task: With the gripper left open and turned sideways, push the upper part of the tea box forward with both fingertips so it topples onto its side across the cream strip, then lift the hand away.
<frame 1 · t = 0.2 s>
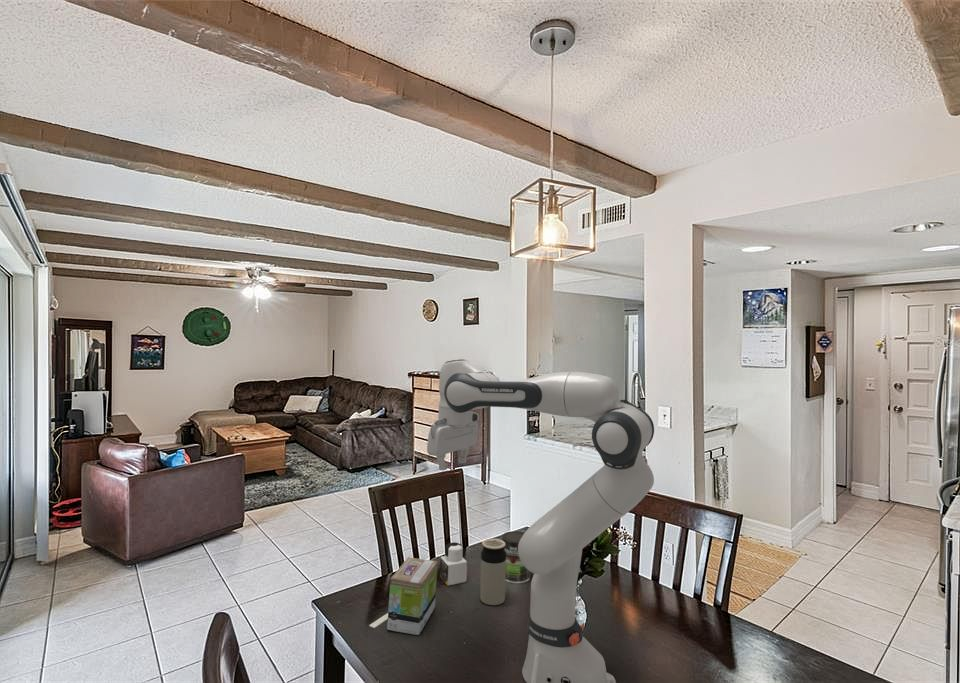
hand: (452, 466, 137), 47 cm above the table, tool pointing down, fingers open, 8 cm apart
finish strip: (391, 613, 146), on the table
tea box: (412, 619, 143), on the table, touching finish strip
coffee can: (515, 577, 171), on the table
medicine bottle: (453, 580, 168), on the table
travel mug: (492, 600, 155), on the table
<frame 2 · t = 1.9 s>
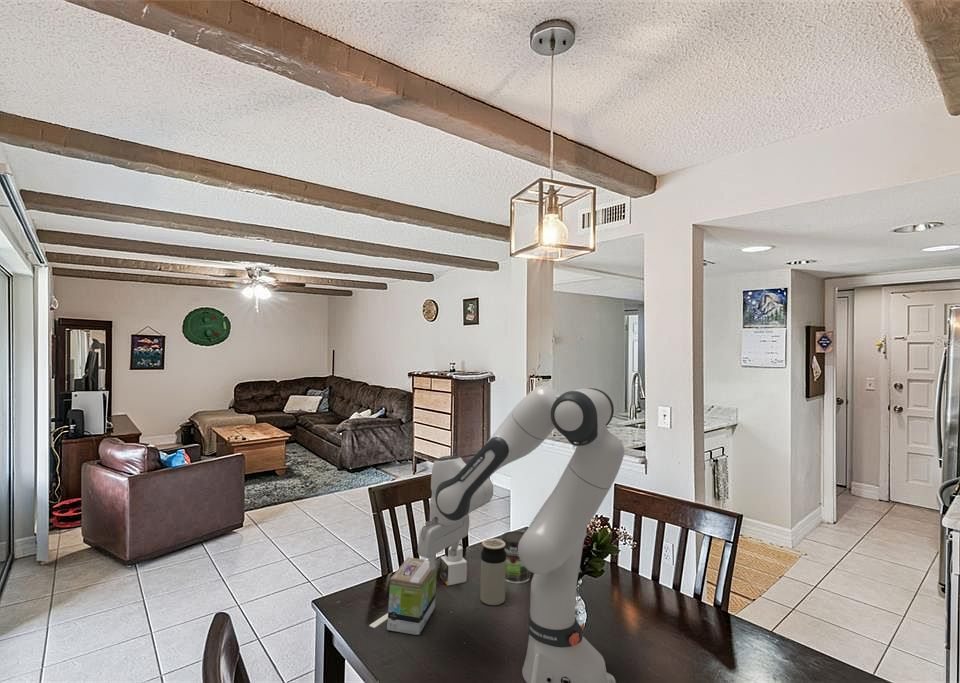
hand: (443, 561, 138), 19 cm above the table, tool pointing down, fingers open, 8 cm apart
nothing on the table moved.
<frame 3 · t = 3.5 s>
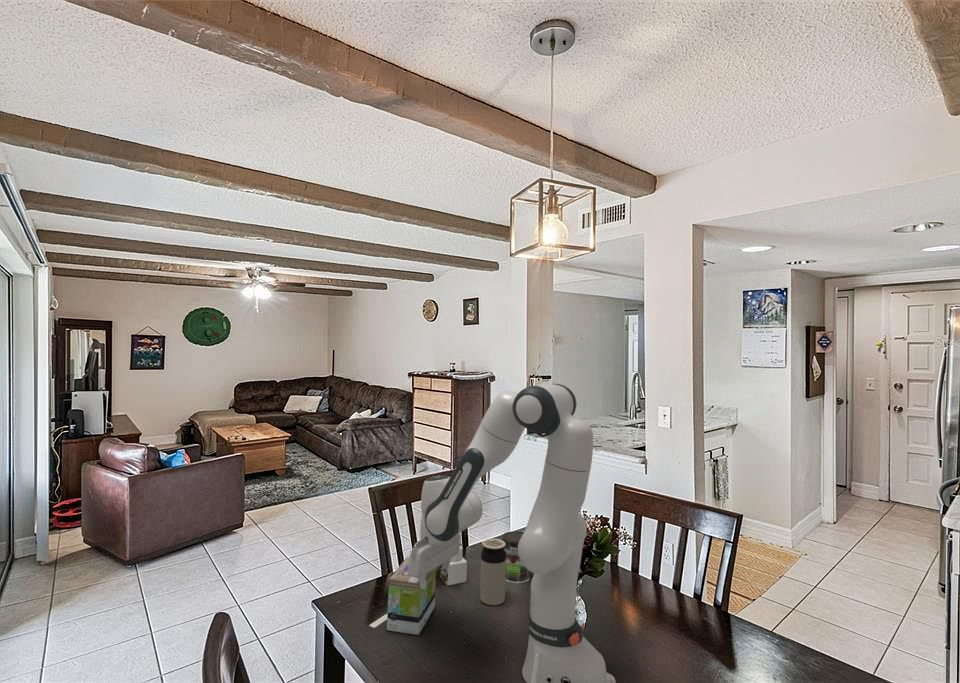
hand: (434, 580, 139), 13 cm above the table, tool pointing down, fingers open, 8 cm apart
tea box: (412, 619, 143), on the table, touching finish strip, gripper
everything else where it was.
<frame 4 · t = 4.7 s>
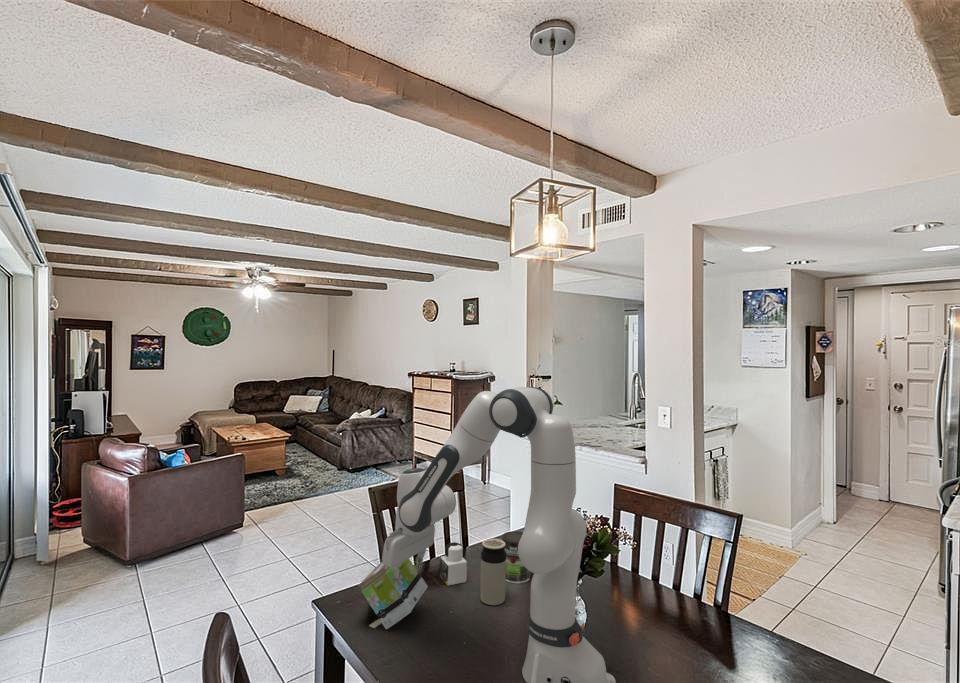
hand: (408, 570, 143), 14 cm above the table, tool pointing down, fingers open, 8 cm apart
tea box: (409, 608, 143), point 3 cm above the table, touching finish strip, gripper
everything else where it was.
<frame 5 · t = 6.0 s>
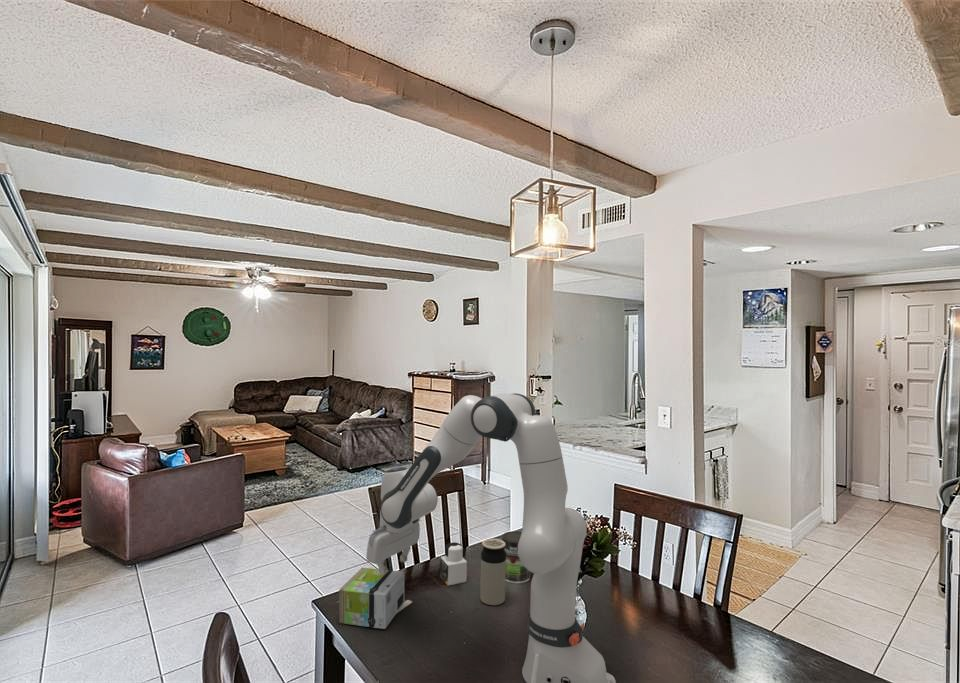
hand: (393, 567, 147), 13 cm above the table, tool pointing down, fingers open, 8 cm apart
tea box: (396, 598, 144), point 5 cm above the table, touching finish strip
everything else where it was.
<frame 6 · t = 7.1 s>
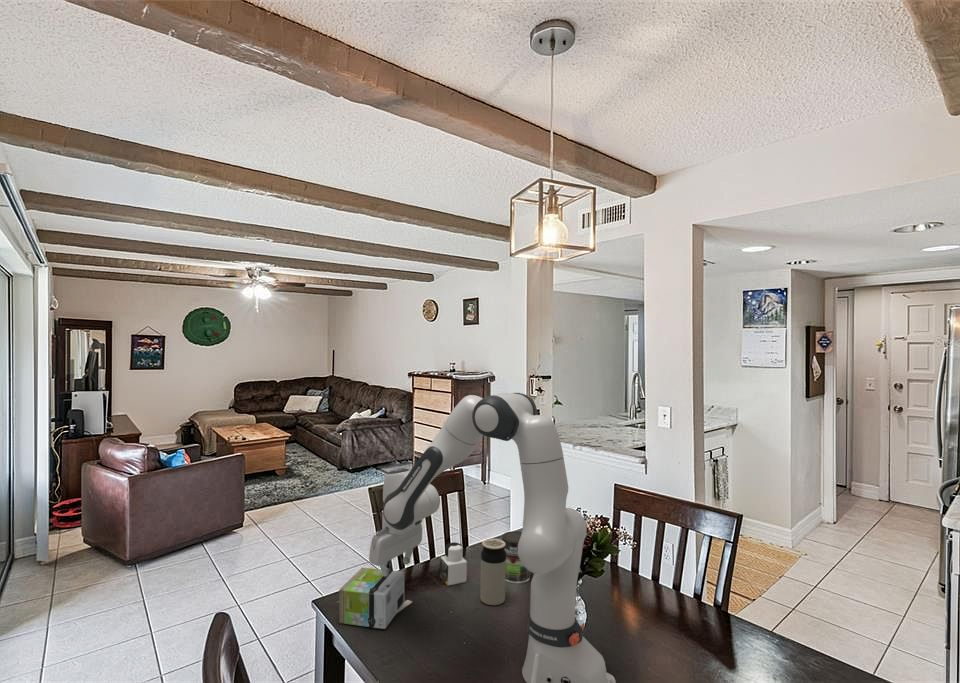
hand: (396, 569, 146), 13 cm above the table, tool pointing down, fingers open, 8 cm apart
nothing on the table moved.
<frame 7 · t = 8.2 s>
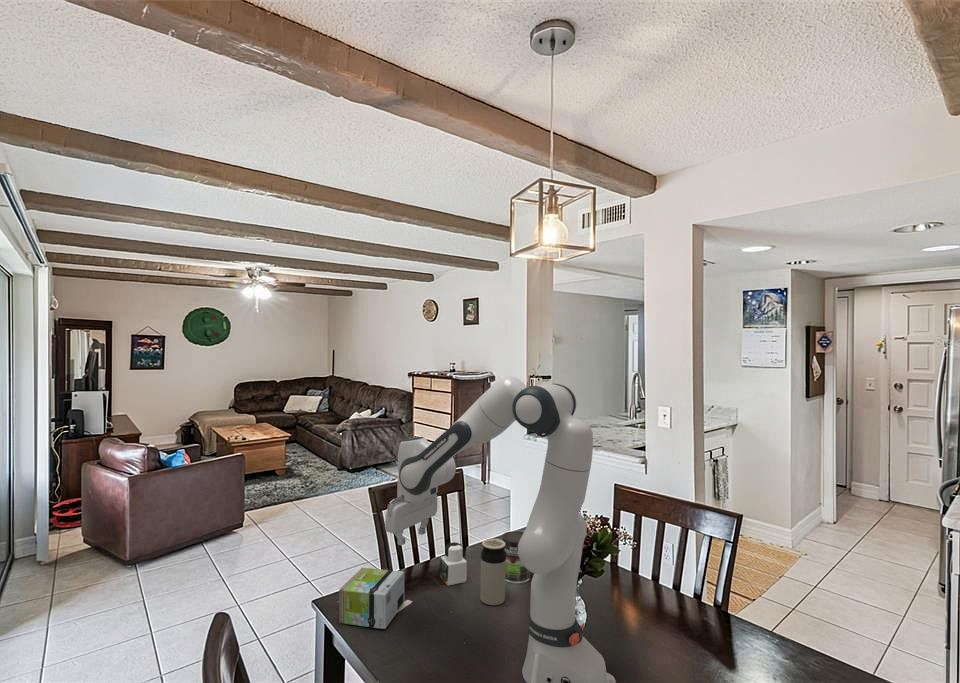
hand: (411, 539, 144), 23 cm above the table, tool pointing down, fingers open, 8 cm apart
nothing on the table moved.
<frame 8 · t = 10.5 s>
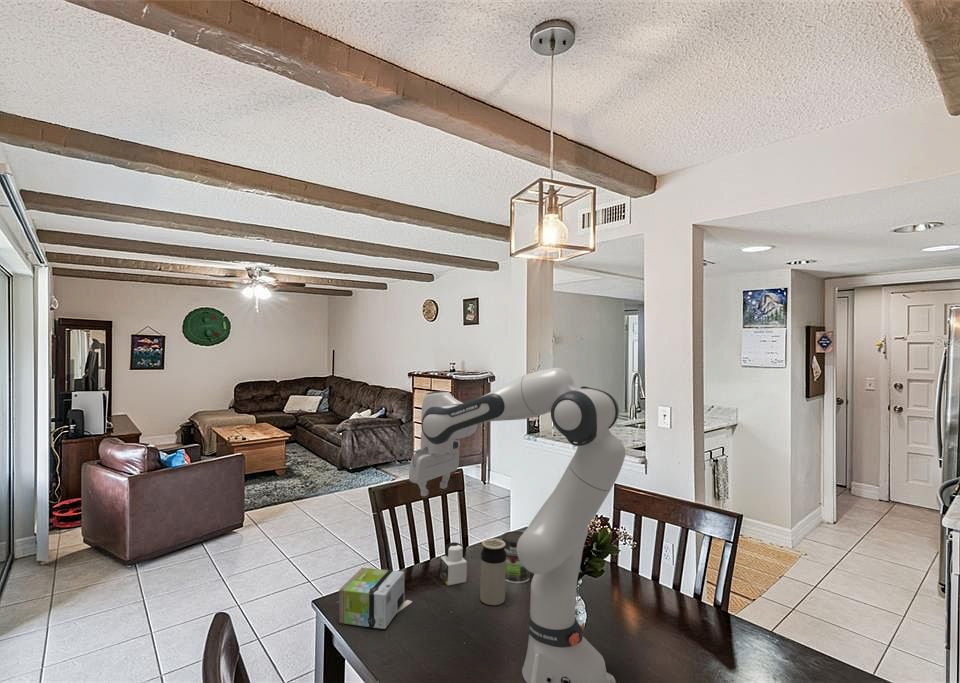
hand: (434, 491, 145), 37 cm above the table, tool pointing down, fingers open, 8 cm apart
nothing on the table moved.
at the end: tea box tilted 93°; tea box inside the target area (7.0 cm from its centre), point 5.4 cm above the table; the gripper is holding nothing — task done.
